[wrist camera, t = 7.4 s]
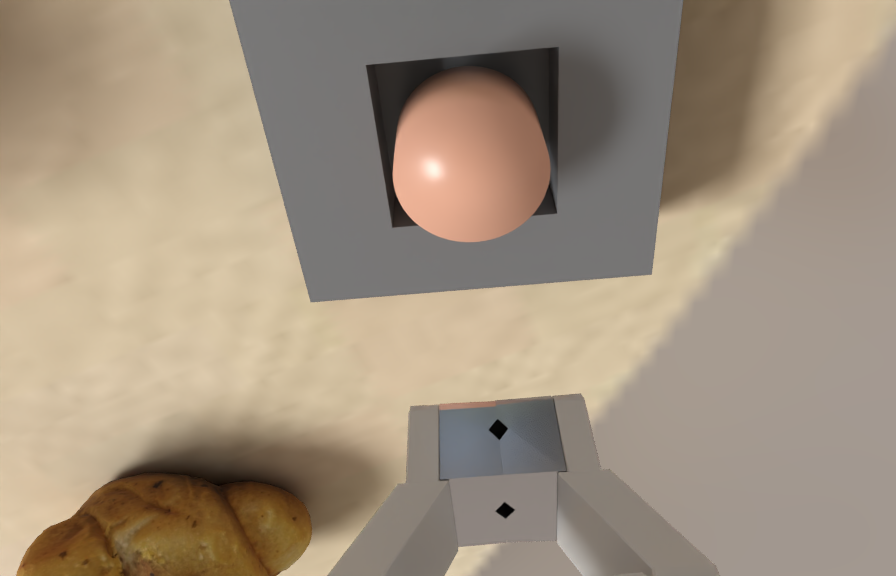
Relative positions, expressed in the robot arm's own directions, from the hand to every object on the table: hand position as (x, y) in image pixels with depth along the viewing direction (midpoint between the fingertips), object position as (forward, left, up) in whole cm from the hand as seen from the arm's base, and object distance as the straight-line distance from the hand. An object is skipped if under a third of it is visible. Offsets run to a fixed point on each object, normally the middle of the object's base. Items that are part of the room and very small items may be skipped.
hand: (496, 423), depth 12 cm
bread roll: (+22, -16, -15) cm, 31 cm away
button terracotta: (0, 0, -12) cm, 12 cm away
